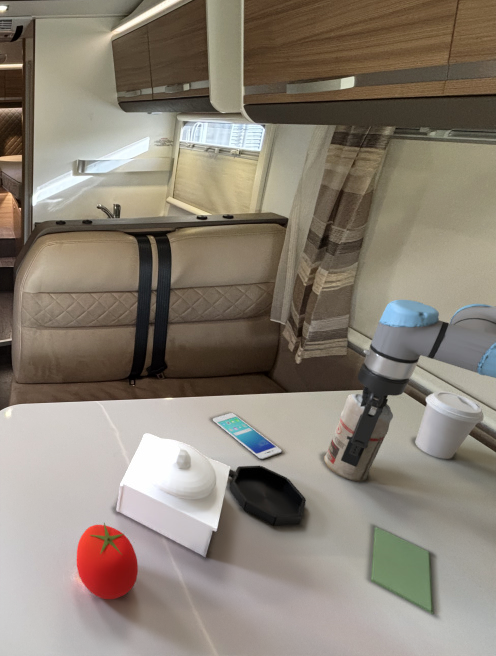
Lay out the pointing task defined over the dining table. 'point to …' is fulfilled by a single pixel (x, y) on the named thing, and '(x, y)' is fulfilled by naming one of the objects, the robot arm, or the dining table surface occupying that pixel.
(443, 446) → the coffee cup
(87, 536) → the tomato
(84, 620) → the dining table surface
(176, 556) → the dining table surface
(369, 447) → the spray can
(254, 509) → the black octagonal pan
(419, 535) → the dining table surface
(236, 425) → the smartphone
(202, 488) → the butter dish
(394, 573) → the green flat panel
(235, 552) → the dining table surface
